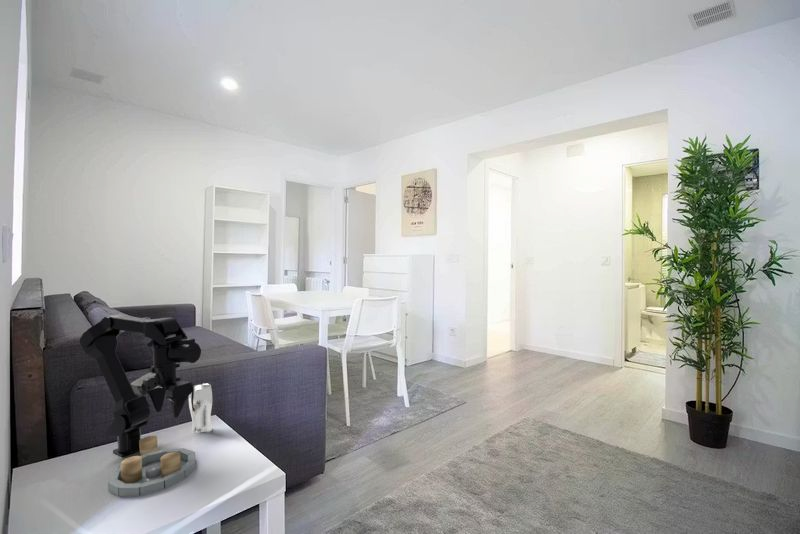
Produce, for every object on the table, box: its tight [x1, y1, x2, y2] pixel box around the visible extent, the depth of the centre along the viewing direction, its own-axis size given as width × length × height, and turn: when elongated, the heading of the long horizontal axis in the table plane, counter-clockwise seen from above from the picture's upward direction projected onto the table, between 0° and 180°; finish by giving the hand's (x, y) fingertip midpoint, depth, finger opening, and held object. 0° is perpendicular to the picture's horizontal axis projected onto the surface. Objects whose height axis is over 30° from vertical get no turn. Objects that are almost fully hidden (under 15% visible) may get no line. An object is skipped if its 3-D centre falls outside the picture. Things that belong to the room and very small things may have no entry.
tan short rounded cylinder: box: [161, 452, 181, 478], centre depth 100 cm, size 4×4×5 cm
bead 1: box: [120, 455, 142, 484], centre depth 98 cm, size 4×4×5 cm
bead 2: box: [139, 435, 159, 456], centre depth 112 cm, size 4×4×5 cm
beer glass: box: [188, 383, 213, 434], centre depth 127 cm, size 7×7×15 cm
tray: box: [107, 447, 197, 497], centre depth 101 cm, size 19×19×3 cm
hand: (167, 414), depth 112 cm, fingers open, 9 cm apart
